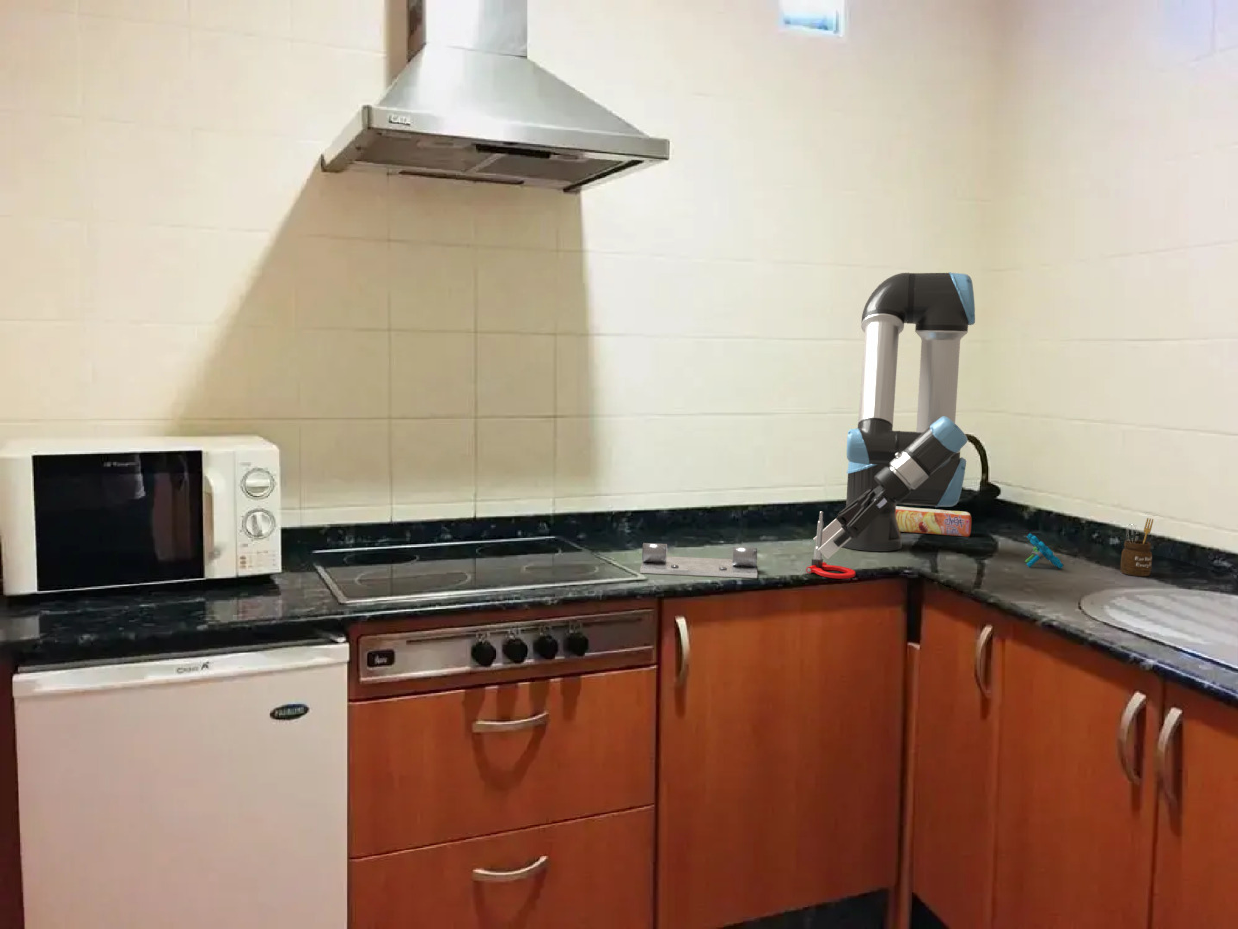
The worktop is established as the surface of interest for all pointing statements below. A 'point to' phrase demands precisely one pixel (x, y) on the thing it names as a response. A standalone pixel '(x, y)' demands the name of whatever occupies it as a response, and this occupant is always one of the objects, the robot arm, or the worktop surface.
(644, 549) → the hinge leaf
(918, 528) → the snack package
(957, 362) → the robot arm
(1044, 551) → the gear
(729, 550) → the worktop surface
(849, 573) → the tow hook
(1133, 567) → the utensil holder
